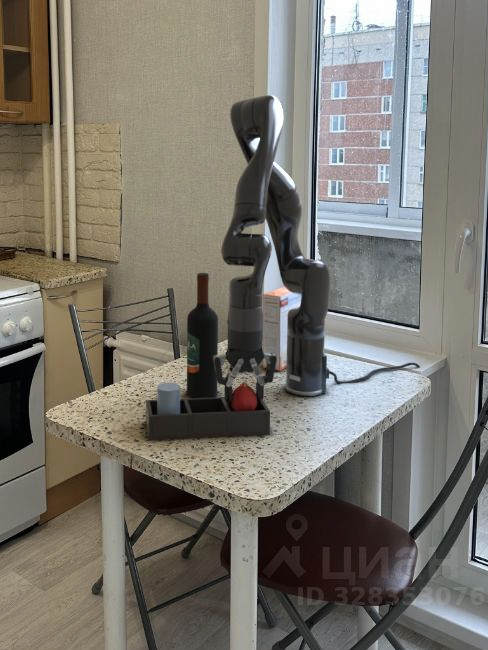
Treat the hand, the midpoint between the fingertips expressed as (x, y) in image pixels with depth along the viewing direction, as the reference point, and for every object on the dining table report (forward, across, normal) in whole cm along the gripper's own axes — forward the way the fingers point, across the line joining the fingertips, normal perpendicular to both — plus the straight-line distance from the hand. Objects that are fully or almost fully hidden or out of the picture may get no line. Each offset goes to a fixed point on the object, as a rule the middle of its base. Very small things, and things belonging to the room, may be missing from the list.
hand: (244, 401), depth 146 cm
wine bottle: (+6, -6, +20) cm, 22 cm away
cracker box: (+6, +20, +41) cm, 46 cm away
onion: (+4, 0, 0) cm, 4 cm away
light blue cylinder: (+5, -16, 0) cm, 17 cm away
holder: (+6, -8, 0) cm, 10 cm away
